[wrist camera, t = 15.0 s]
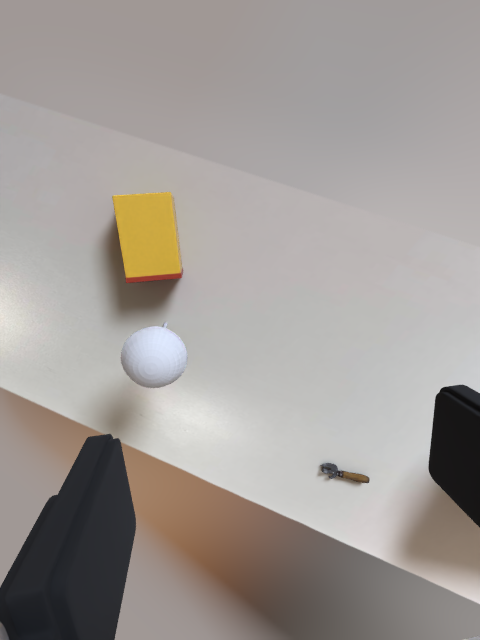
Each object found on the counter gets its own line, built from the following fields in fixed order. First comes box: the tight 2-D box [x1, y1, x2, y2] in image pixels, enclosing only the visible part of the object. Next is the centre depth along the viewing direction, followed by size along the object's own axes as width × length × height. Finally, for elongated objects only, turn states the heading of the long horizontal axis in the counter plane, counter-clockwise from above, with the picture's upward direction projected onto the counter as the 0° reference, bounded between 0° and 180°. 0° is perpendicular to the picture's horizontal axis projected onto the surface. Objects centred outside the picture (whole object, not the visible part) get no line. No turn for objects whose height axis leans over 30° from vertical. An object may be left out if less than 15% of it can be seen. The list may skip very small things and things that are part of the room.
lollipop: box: [121, 322, 188, 388], centre depth 36 cm, size 6×6×15 cm
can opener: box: [321, 463, 369, 483], centre depth 52 cm, size 9×2×1 cm, turn 64°
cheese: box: [112, 192, 183, 283], centre depth 37 cm, size 9×6×5 cm
